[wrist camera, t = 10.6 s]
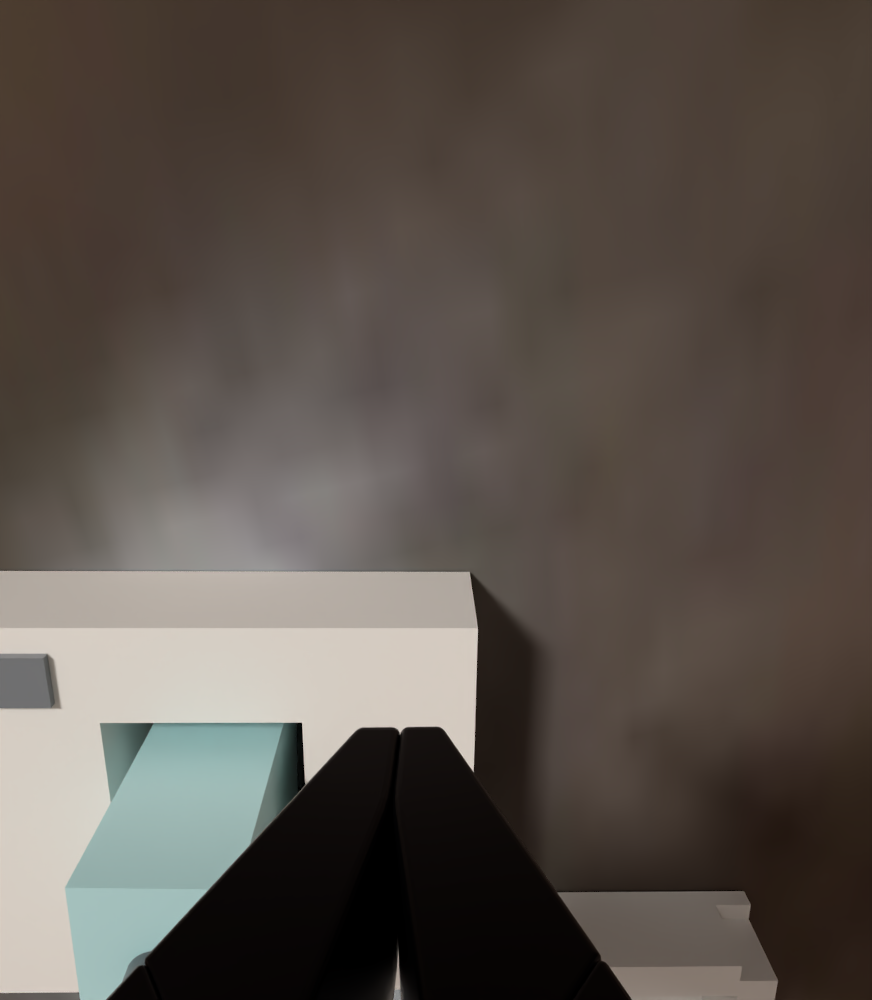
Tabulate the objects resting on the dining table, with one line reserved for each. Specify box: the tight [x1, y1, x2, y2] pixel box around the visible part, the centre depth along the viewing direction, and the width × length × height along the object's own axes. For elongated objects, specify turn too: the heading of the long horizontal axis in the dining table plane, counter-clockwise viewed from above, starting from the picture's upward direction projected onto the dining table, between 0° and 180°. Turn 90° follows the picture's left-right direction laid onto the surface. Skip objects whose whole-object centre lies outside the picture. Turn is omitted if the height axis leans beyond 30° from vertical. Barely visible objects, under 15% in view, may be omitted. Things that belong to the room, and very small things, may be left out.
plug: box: [65, 723, 298, 1000], centre depth 18 cm, size 3×4×8 cm
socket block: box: [0, 571, 478, 993], centre depth 20 cm, size 12×10×3 cm
